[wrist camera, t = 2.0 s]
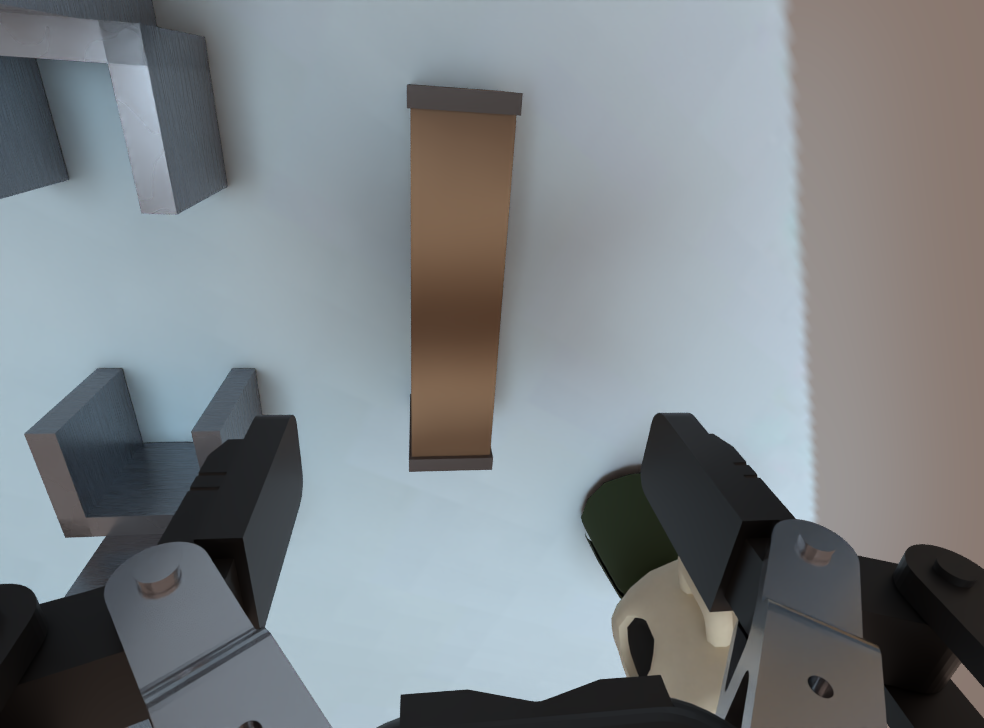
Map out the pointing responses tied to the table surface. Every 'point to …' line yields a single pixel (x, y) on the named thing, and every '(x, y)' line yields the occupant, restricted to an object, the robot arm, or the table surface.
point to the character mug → (656, 597)
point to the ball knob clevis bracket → (161, 190)
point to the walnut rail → (457, 269)
